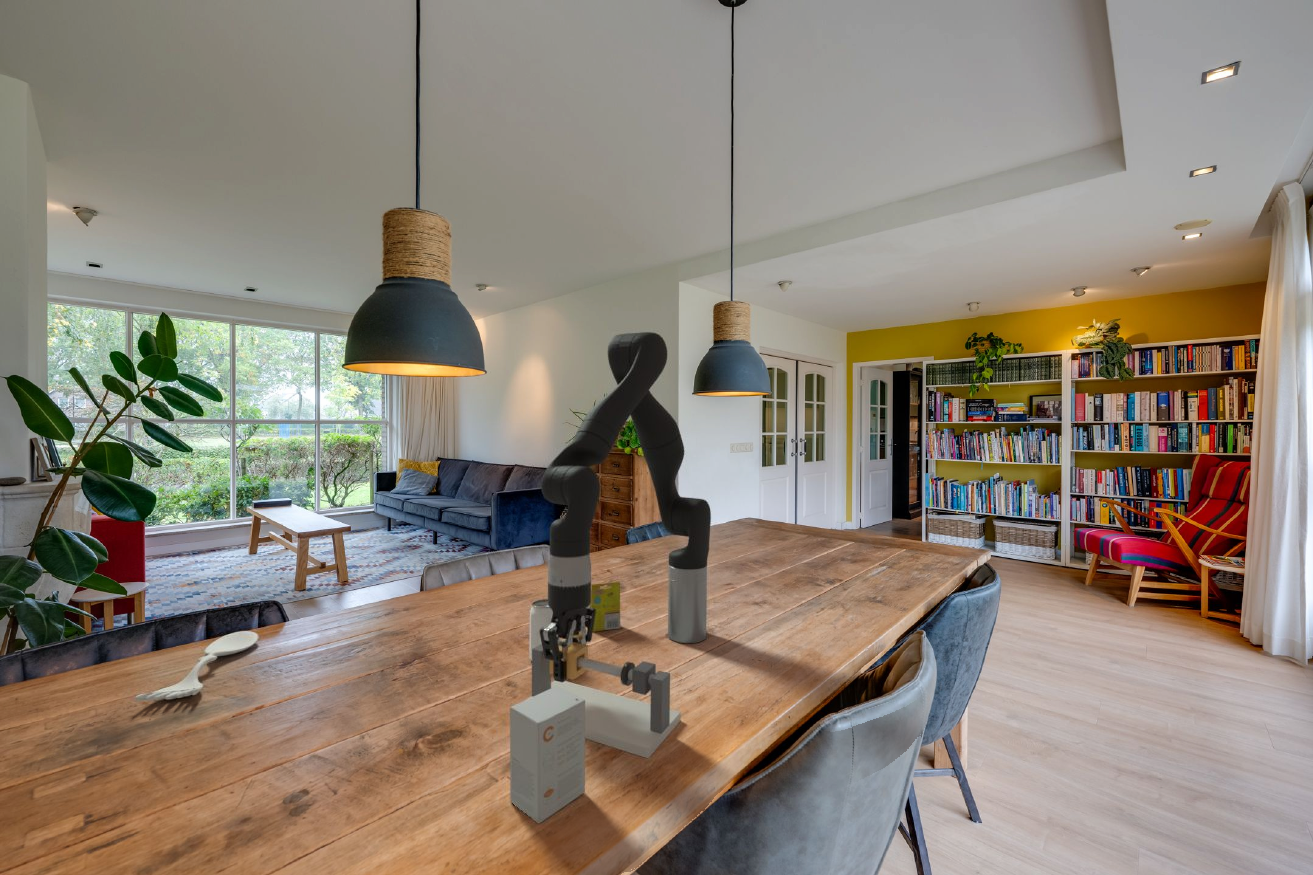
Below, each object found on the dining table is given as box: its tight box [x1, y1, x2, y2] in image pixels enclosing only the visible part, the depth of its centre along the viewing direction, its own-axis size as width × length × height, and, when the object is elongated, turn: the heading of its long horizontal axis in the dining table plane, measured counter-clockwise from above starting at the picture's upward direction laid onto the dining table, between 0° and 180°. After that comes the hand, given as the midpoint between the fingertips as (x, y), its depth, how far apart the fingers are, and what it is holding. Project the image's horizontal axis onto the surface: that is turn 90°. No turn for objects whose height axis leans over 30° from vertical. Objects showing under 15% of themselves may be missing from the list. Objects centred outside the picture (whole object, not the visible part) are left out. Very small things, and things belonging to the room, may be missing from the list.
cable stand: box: [525, 644, 682, 759], centre depth 94 cm, size 12×26×11 cm, turn 63°
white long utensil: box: [134, 630, 260, 702], centre depth 110 cm, size 9×32×4 cm, turn 17°
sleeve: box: [550, 639, 589, 681], centre depth 96 cm, size 4×5×4 cm
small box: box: [509, 686, 586, 825], centre depth 73 cm, size 8×6×13 cm
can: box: [529, 598, 561, 662], centre depth 117 cm, size 6×6×12 cm
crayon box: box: [589, 581, 621, 633], centre depth 135 cm, size 7×3×12 cm, turn 108°
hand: (568, 674), depth 96 cm, fingers closed on sleeve, 4 cm apart
